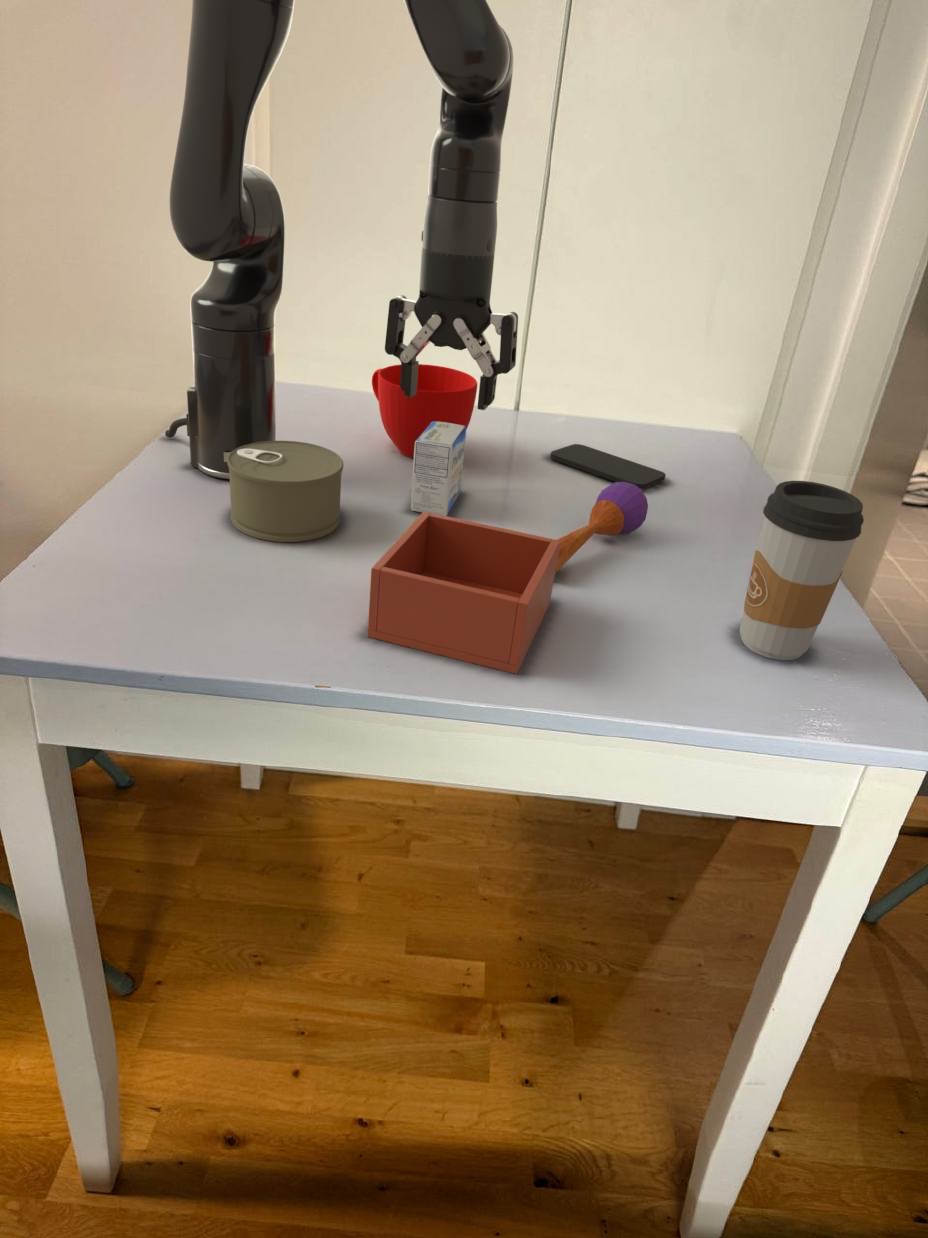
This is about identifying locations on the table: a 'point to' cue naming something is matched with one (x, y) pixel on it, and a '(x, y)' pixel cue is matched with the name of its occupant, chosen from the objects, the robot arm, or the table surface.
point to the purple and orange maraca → (607, 518)
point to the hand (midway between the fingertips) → (446, 401)
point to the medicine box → (438, 468)
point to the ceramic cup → (422, 402)
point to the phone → (608, 465)
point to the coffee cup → (797, 566)
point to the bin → (463, 590)
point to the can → (285, 490)
